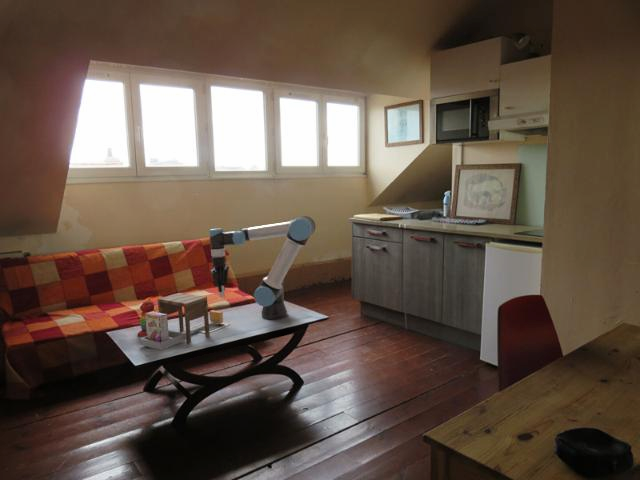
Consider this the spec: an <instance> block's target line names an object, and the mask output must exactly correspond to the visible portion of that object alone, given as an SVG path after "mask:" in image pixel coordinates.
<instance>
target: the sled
mask: <svg viewBox="0 0 640 480" xmlns="http://www.w3.org/2000/svg"><path fill="white" fill-rule="evenodd" d="M209 320H210V322H209V326H210V325H213V324H215V323H224V315H223V311H218V310H213V309H211V310H210V311H209ZM203 328H205V324H202V325H200V326H197V327H194V328H192V329H190V333H191V334H192V333H194V332H195V333H196V331H197V330H200V329H203ZM168 332H169V340H166V341H164V342H161V343H160V342H156V341H152V340H148V339H147V336H142V337H141V338H139V339H140V342H139V343H140V345H141V346H145V347H148V348H152V349H156V350H160V351H162V350H165V349H167V348H170V347H172V346H175V345H177V344H180V343H182V342H184V341H187V340H186V330H183V331H180V332H179V331H174V330H170V329H168Z"/></svg>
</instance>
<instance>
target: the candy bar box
mask: <svg viewBox="0 0 640 480" xmlns="http://www.w3.org/2000/svg"><path fill="white" fill-rule="evenodd" d="M154 311H155V310H154ZM154 311H152V312H148V313H146V314H145V320H146V331H147V339H148V340H152V341H156V342H160V343H161V342H164V341H166V340H169V339H170V337H169V332H168V330H169V322H168V315H167V314H163V313H159V311H158V312H157V311H155V312H154Z"/></svg>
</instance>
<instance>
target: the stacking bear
mask: <svg viewBox="0 0 640 480" xmlns="http://www.w3.org/2000/svg"><path fill="white" fill-rule="evenodd" d="M155 305H156V304H155V302H154V301H152V300H151V299H148V300H145V301H143V302H142V303H141V305H139V309H140V311H141V314H140V319H139V324H140V325H139V326H140V328H141V330H140V331H138V333H137V335H138V336H137V337H146V336H147V331H146V320H145V314H146V313H148V312H152V311H154V312H156V311H155Z"/></svg>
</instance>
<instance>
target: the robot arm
mask: <svg viewBox="0 0 640 480" xmlns="http://www.w3.org/2000/svg"><path fill="white" fill-rule="evenodd" d="M315 231H316V222H315V220H314V219H313V218H311V217H310V216H307V215H302V216H300V217H296V218H293V219H291V220H290V221H285V222H278V223H271V224H264V225H259V226H252V227H250V226H249V227H246V228H244V227H243V228H238V229H236V230H233V231H224V230H223V228H221V227H220V228H219V227H218V228H211V229H210V230H209V242H210V245H209V246H210V253H211V254H210V255H211V256H212V257H211V264H213V265H212V266H213V267H212V269H210V270H209V272H210V274H211V276H212V280H213V283H214V286H215V287H217V291H218V294H219V298H225V297H226V292H225V291H226V288H225V287H226V285H227V284H228V273H229V269H230V267H229V266H228V265H226V261H227V260H226V248H225V246H236V245H237V246H239V245H244V244H245V243H246V242H249V241H256V240H264V239H270V238H279V237H283V236H284V237H285V238H286V240H285V242H284V244H283V246H282V248H281V250H280V252H279V253H278V256H277V257H276V260H275V261H274V264H272V267H271V269H270V271H269V273H268V275H267V276H264V277H263V278H262V280H261V282H260V284H259V285H258V287H257V288H256V289H255V291H254V294H253V299H254V300H255V303H257V305H259V306H261V307H262V309H261V318H263V319H264V320H280V319H283V318H286V317H287V316H288V310H287V307H286V305H285V299H284V279H285V277H286V275H287V274H288V272H289V269H290V268H291V266H292V264H293V262H294V261H295V258H296V257H297V255H298V253H299V251H300V249H301V248H302V247H305V246H306V244H307V242H308V240H309V238H310V236H312V235H313V234H314V233H315Z"/></svg>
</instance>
